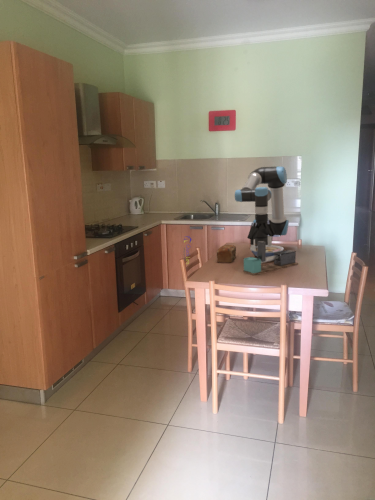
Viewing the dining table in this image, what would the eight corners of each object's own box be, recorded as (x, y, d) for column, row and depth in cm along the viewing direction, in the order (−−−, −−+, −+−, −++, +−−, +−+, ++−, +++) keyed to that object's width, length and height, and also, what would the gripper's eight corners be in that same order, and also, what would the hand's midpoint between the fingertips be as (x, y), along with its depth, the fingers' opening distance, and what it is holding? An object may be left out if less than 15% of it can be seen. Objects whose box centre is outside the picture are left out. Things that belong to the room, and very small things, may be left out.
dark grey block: (288, 261, 257) (288, 249, 256) (295, 262, 252) (295, 251, 251) (273, 264, 250) (274, 252, 249) (280, 266, 245) (281, 254, 244)
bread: (231, 263, 262) (231, 248, 260) (216, 262, 265) (215, 248, 263) (236, 256, 279) (236, 243, 277) (221, 256, 282) (221, 242, 280)
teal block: (250, 268, 242) (250, 256, 241) (261, 271, 235) (261, 259, 233) (243, 270, 239) (243, 258, 238) (253, 273, 232) (253, 261, 230)
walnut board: (287, 261, 259) (287, 260, 259) (297, 264, 251) (297, 263, 251) (243, 271, 239) (243, 270, 239) (253, 275, 232) (253, 273, 232)
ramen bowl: (284, 263, 256) (284, 251, 254) (249, 263, 260) (249, 250, 259) (283, 254, 280) (283, 243, 278) (250, 254, 284) (250, 243, 282)
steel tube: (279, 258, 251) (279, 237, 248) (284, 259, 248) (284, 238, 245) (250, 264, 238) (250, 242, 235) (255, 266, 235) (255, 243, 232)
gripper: (249, 216, 224) (250, 252, 229) (281, 211, 237) (280, 246, 242) (241, 215, 230) (241, 250, 235) (272, 210, 243) (272, 244, 248)
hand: (261, 248), depth 238 cm, fingers open, 13 cm apart
